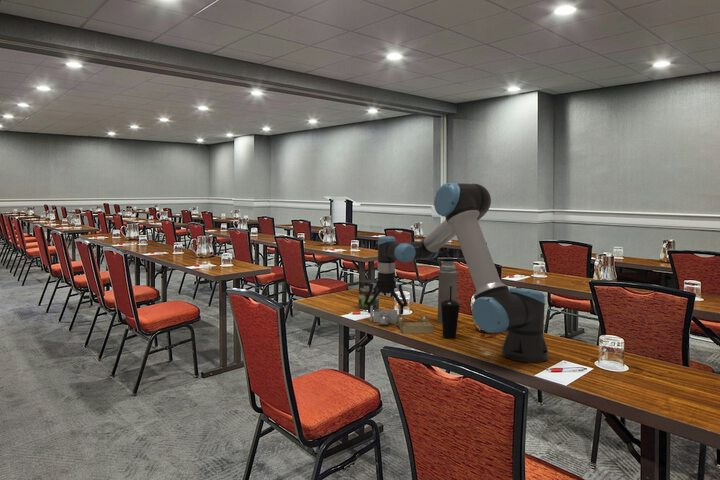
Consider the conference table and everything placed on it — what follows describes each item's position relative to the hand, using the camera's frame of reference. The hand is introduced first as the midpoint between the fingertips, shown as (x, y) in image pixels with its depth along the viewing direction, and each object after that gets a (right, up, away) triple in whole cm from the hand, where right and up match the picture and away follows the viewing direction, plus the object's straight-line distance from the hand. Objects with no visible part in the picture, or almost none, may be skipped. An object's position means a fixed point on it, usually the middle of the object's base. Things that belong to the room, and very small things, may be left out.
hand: (385, 321), depth 216 cm
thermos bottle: (+27, -1, +1) cm, 27 cm away
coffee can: (-7, +2, +24) cm, 25 cm away
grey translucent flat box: (+11, -1, -12) cm, 17 cm away
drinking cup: (+24, -3, -23) cm, 33 cm away
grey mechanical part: (0, -1, -3) cm, 3 cm away
